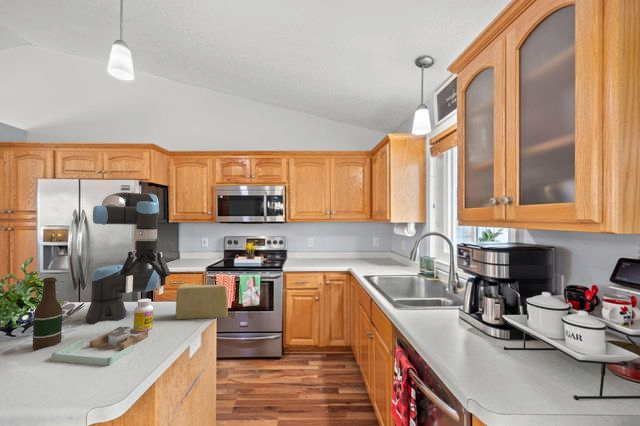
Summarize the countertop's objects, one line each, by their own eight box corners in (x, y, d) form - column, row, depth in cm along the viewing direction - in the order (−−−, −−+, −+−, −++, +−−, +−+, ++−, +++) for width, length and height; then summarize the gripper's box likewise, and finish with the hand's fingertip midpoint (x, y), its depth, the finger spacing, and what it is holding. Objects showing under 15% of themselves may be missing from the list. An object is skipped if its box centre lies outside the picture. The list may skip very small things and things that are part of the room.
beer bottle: (66, 344, 109) (69, 277, 110) (40, 353, 102) (43, 281, 102) (52, 340, 112) (55, 275, 112) (26, 349, 104) (29, 279, 105)
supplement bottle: (143, 336, 118) (145, 303, 118) (129, 334, 119) (130, 301, 119) (156, 330, 125) (157, 298, 125) (142, 328, 126) (143, 297, 126)
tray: (80, 349, 105) (80, 340, 105) (133, 354, 103) (133, 345, 103) (51, 363, 95) (51, 353, 95) (109, 368, 93) (109, 358, 93)
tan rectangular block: (229, 313, 148) (230, 282, 148) (224, 320, 138) (225, 287, 138) (182, 313, 147) (184, 282, 147) (174, 320, 137) (175, 286, 137)
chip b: (119, 342, 110) (119, 331, 110) (127, 344, 108) (127, 333, 108) (108, 346, 106) (108, 335, 106) (116, 348, 104) (116, 337, 104)
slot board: (116, 336, 117) (116, 329, 117) (147, 339, 115) (148, 331, 115) (89, 350, 105) (89, 341, 105) (123, 353, 103) (124, 344, 103)
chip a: (118, 337, 114) (119, 326, 114) (129, 337, 114) (130, 326, 114) (112, 341, 110) (112, 330, 110) (123, 341, 110) (124, 330, 110)
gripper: (110, 239, 120) (108, 293, 120) (169, 241, 117) (167, 296, 117) (125, 238, 128) (123, 289, 127) (180, 240, 125) (179, 292, 124)
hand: (144, 293), depth 122 cm, fingers open, 13 cm apart
